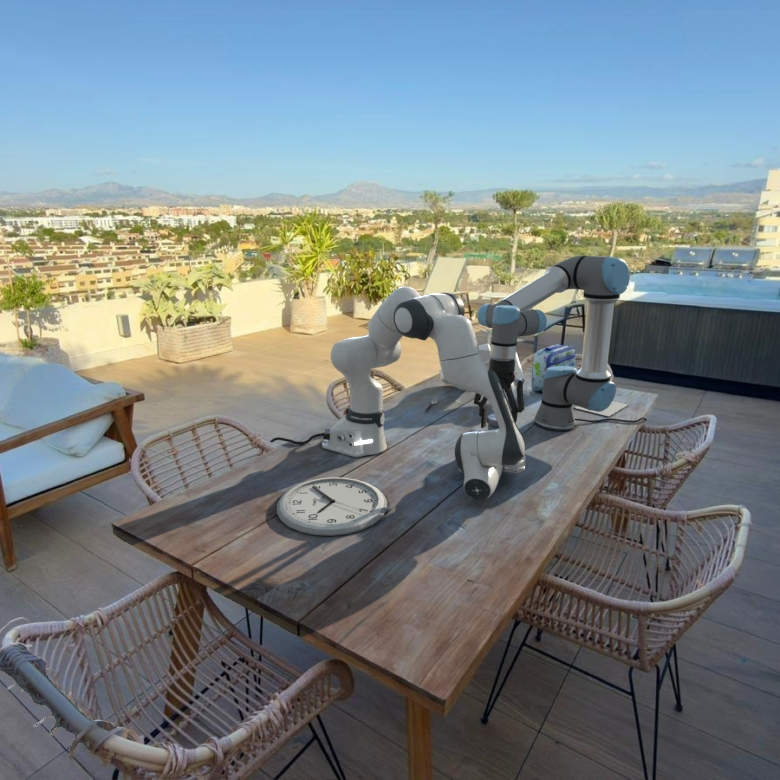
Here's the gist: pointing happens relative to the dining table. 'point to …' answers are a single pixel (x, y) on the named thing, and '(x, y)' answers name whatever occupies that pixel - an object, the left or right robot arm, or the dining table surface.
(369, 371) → the left robot arm
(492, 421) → the lid
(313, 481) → the wall clock
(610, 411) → the invitation card
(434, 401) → the fork
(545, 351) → the lunch box
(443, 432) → the dining table surface
